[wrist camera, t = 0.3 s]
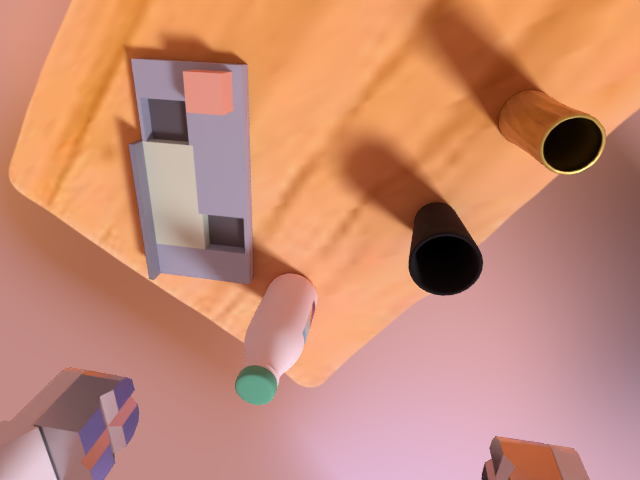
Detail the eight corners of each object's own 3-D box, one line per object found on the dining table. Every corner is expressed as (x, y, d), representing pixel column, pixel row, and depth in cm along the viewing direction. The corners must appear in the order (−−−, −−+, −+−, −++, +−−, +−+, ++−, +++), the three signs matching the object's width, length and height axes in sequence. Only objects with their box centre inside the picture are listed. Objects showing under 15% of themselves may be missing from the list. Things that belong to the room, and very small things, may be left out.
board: (134, 57, 53) (115, 59, 50) (247, 64, 51) (236, 66, 48) (162, 266, 66) (149, 279, 63) (253, 277, 64) (245, 291, 61)
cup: (402, 244, 58) (403, 290, 47) (410, 191, 55) (414, 228, 44) (459, 251, 57) (474, 300, 46) (472, 198, 54) (490, 237, 43)
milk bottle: (259, 285, 65) (206, 379, 47) (298, 263, 62) (258, 353, 44) (288, 322, 67) (249, 425, 49) (328, 301, 64) (302, 403, 46)
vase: (555, 84, 47) (614, 101, 34) (555, 139, 49) (611, 173, 36) (496, 96, 48) (532, 116, 36) (499, 148, 51) (534, 185, 38)
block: (195, 69, 50) (182, 71, 47) (232, 71, 50) (221, 73, 47) (199, 108, 52) (186, 112, 49) (233, 110, 52) (223, 115, 49)
